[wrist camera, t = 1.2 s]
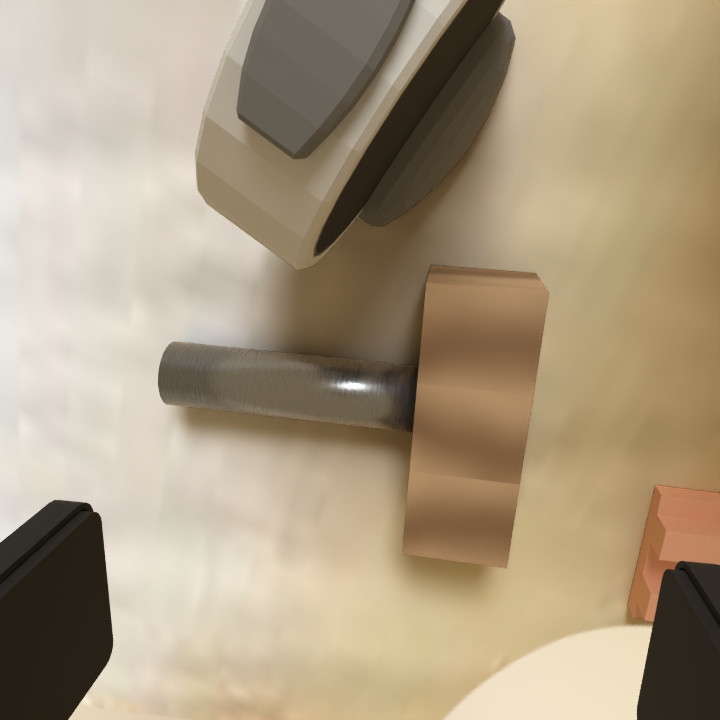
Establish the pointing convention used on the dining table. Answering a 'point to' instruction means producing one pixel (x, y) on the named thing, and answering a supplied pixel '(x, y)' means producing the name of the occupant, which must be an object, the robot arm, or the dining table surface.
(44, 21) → the dining table surface
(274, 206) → the alarm clock
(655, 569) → the v block
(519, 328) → the beam
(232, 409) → the axle
